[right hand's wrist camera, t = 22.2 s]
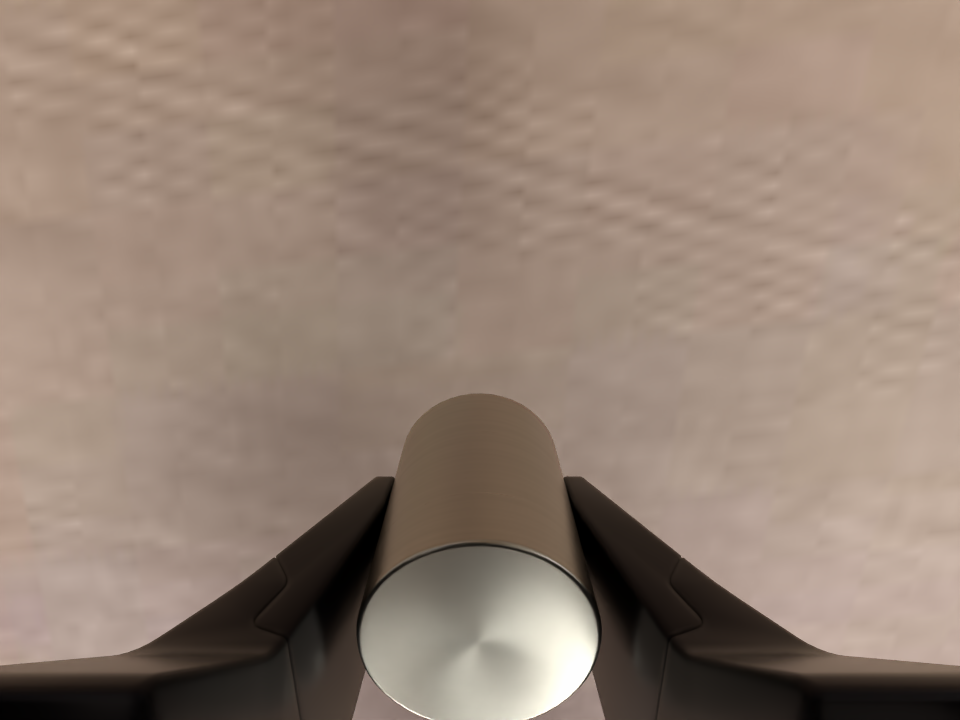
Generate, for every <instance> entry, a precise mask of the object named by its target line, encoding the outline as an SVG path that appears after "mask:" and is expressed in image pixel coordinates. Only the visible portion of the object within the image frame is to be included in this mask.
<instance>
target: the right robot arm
mask: <svg viewBox="0 0 960 720" xmlns="http://www.w3.org/2000/svg"><path fill="white" fill-rule="evenodd" d="M563 479H564V482H565V486H566V490H567V493H568V497H569V501H570V505H571V508H572V512H573V516H574V520H575V523H576V527H577V531H578V535H579V538H580V542H581V546H582V549H583V553H584V557H585V561H586V564H587V568H588V572H589V576H590V579H591V583H592V587H593V590H594V594H595V598H596V602H597V605H598V609H599V613H600V617H601V625H602V639H601V645H600V650H599V654H598V657H597V660H596V662H595V665H594V667H593V669H592V671H593V675H594V679H595V682H596V686H597V690H598V694H599V697H600V701H601V705H602V709H603V713H604V716H605V720H960V666H954V665H942V664H931V663H920V662H908V661H897V660H886V659H874V658H863V657H852V656H842V655H836V654H832V653H829V652H826V651H823V650H820V649H818V648H816V647H814V646H812V645H809V644H807V643H806V642H804V641H802V640H801V639H799V638H798V637H796V636H794V635H793V634H791V633H790V632H788V631H787V630H785V629H784V628H782V627H781V626H779V625H778V624H776V623H775V622H773V621H772V620H770V619H769V618H767V617H766V616H764V615H763V614H761V613H760V612H758V611H757V610H755V609H754V608H752V607H751V606H749V605H748V604H746V603H745V602H743V601H742V600H740V599H739V598H737V597H736V596H734V595H733V594H731V593H730V592H729V591H727V590H726V589H724V588H723V587H721V586H720V585H718V584H717V583H716V582H714V581H713V580H712V579H710V578H709V577H708V576H706V575H705V574H704V573H702V572H701V571H700V570H698V569H697V568H696V567H695V566H693V565H692V564H691V563H690V562H688V561H687V560H686V559H685V558H681V556H680V555H679V554H678V553H677V552H676V551H674V550H673V549H672V548H671V547H669V546H668V545H667V544H665V543H664V542H663V541H662V540H660V539H659V538H658V537H657V536H655V535H654V534H653V533H652V532H650V531H649V530H648V529H647V528H645V527H644V526H643V525H642V524H640V523H639V522H638V521H637V520H635V519H634V518H633V517H632V516H630V515H629V514H628V513H627V512H625V511H624V510H623V509H622V508H620V507H619V506H618V505H617V504H615V503H614V502H613V501H612V500H610V499H609V498H608V497H607V496H605V495H604V494H603V493H601V492H600V491H599V490H598V489H596V488H595V487H594V486H593V485H591V484H590V483H589V482H588V481H586V480H585V479H584V478H582V477H564V478H563ZM394 480H395V478H394V477H376V478H374V479H373V480H371V481H370V482H369V483H368V484H366V485H365V486H364V487H363V488H361V489H360V490H359V491H358V492H356V493H355V494H354V495H353V496H351V497H350V498H349V499H347V500H346V501H345V502H344V503H342V504H341V505H340V506H339V507H337V508H336V509H335V510H334V511H332V512H331V513H330V514H328V515H327V516H326V517H325V518H323V519H322V520H321V521H320V522H318V523H317V524H316V525H315V526H313V527H312V528H311V529H309V530H308V531H307V532H306V533H304V534H303V535H302V536H301V537H299V538H298V539H297V540H296V541H294V542H293V543H292V544H291V545H289V546H288V547H287V548H285V549H284V550H283V551H282V552H280V553H279V554H278V555H277V556H276V558H273V559H271V560H270V561H269V562H268V563H266V564H265V565H264V566H262V567H261V568H260V569H259V570H257V571H256V572H255V573H253V574H252V575H251V576H249V577H248V578H247V579H245V580H244V581H243V582H241V583H240V584H238V585H237V586H235V587H234V588H233V589H231V590H230V591H228V592H227V593H225V594H224V595H222V596H221V597H219V598H218V599H217V600H215V601H214V602H212V603H210V604H209V605H207V606H206V607H204V608H203V609H201V610H200V611H198V612H197V613H195V614H194V615H192V616H191V617H189V618H188V619H186V620H185V621H183V622H182V623H180V624H179V625H177V626H176V627H174V628H173V629H171V630H169V631H168V632H166V633H165V634H163V635H162V636H160V637H159V638H157V639H155V640H154V641H152V642H151V643H149V644H147V645H145V646H143V647H141V648H138V649H136V650H133V651H130V652H128V653H124V654H120V655H114V656H104V657H93V658H81V659H70V660H59V661H47V662H36V663H24V664H13V665H2V666H0V720H352V718H353V714H354V710H355V706H356V703H357V699H358V695H359V692H360V688H361V684H362V681H363V677H364V673H365V669H366V668H365V667H364V665H363V662H362V659H361V656H360V653H359V650H358V644H357V638H356V625H357V619H358V614H359V609H360V606H361V602H362V598H363V595H364V591H365V587H366V584H367V580H368V576H369V573H370V569H371V565H372V561H373V558H374V554H375V550H376V547H377V543H378V539H379V536H380V532H381V528H382V525H383V521H384V517H385V513H386V510H387V506H388V502H389V499H390V495H391V491H392V488H393V484H394Z"/></svg>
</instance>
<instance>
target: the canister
mask: <svg viewBox="0 0 960 720" xmlns="http://www.w3.org/2000/svg"><path fill="white" fill-rule="evenodd" d="M356 638H357V644H358V650H359V653H360V656H361V659H362V662H363V665H364V667H365V668H366V670H367V672H368V674H369V676H370V677H371V678H372V680H373V681H374V683H375V684H376V685H377V686H378V687H379V688H380V689H381V690H382V691H383V692H384V694H386V695H387V696H388V697H389V698H391V699H392V700H393V701H394V702H396V703H397V704H399V705H400V706H402V707H403V708H405V709H407V710H409V711H411V712H413V713H415V714H417V715H419V716H421V717H424V718H427V719H430V720H529V719H532V718H534V717H537V716H539V715H541V714H544V713H546V712H548V711H549V710H551V709H553V708H555V707H557V706H558V705H560V704H561V703H562V702H564V701H565V700H566V699H568V698H569V697H570V696H571V695H572V694H573V693H574V692H576V691H577V690H578V689H579V688H580V686H581V685H582V684H583V683H584V681H585V680H586V679H587V677H588V676H589V674H590V672H591V671H592V669H593V667H594V665H595V662H596V660H597V657H598V654H599V650H600V645H601V639H602V625H601V617H600V613H599V609H598V605H597V602H596V598H595V594H594V590H593V587H592V583H591V579H590V576H589V572H588V568H587V564H586V561H585V557H584V553H583V549H582V546H581V542H580V538H579V535H578V531H577V527H576V523H575V520H574V516H573V512H572V508H571V505H570V501H569V497H568V493H567V490H566V486H565V482H564V479H563V475H562V471H561V467H560V464H559V460H558V456H557V452H556V449H555V445H554V442H553V439H552V437H551V435H550V433H549V431H548V429H547V428H546V426H545V425H544V423H543V422H542V421H541V420H540V419H539V418H538V417H537V416H536V415H535V414H534V413H533V412H532V411H531V410H529V409H528V408H526V407H525V406H523V405H522V404H520V403H517V402H515V401H513V400H511V399H508V398H505V397H502V396H497V395H492V394H467V395H461V396H457V397H454V398H450V399H448V400H446V401H443V402H441V403H439V404H437V405H436V406H434V407H432V408H431V409H430V410H428V411H427V412H426V413H424V414H423V415H422V416H421V417H420V418H419V419H418V420H417V422H416V423H415V424H414V426H413V427H412V428H411V430H410V432H409V434H408V436H407V438H406V441H405V444H404V447H403V451H402V454H401V458H400V462H399V465H398V469H397V473H396V477H395V480H394V484H393V488H392V491H391V495H390V499H389V502H388V506H387V510H386V513H385V517H384V521H383V525H382V528H381V532H380V536H379V539H378V543H377V547H376V550H375V554H374V558H373V561H372V565H371V569H370V573H369V576H368V580H367V584H366V587H365V591H364V595H363V598H362V602H361V606H360V609H359V614H358V619H357V625H356Z"/></svg>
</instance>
